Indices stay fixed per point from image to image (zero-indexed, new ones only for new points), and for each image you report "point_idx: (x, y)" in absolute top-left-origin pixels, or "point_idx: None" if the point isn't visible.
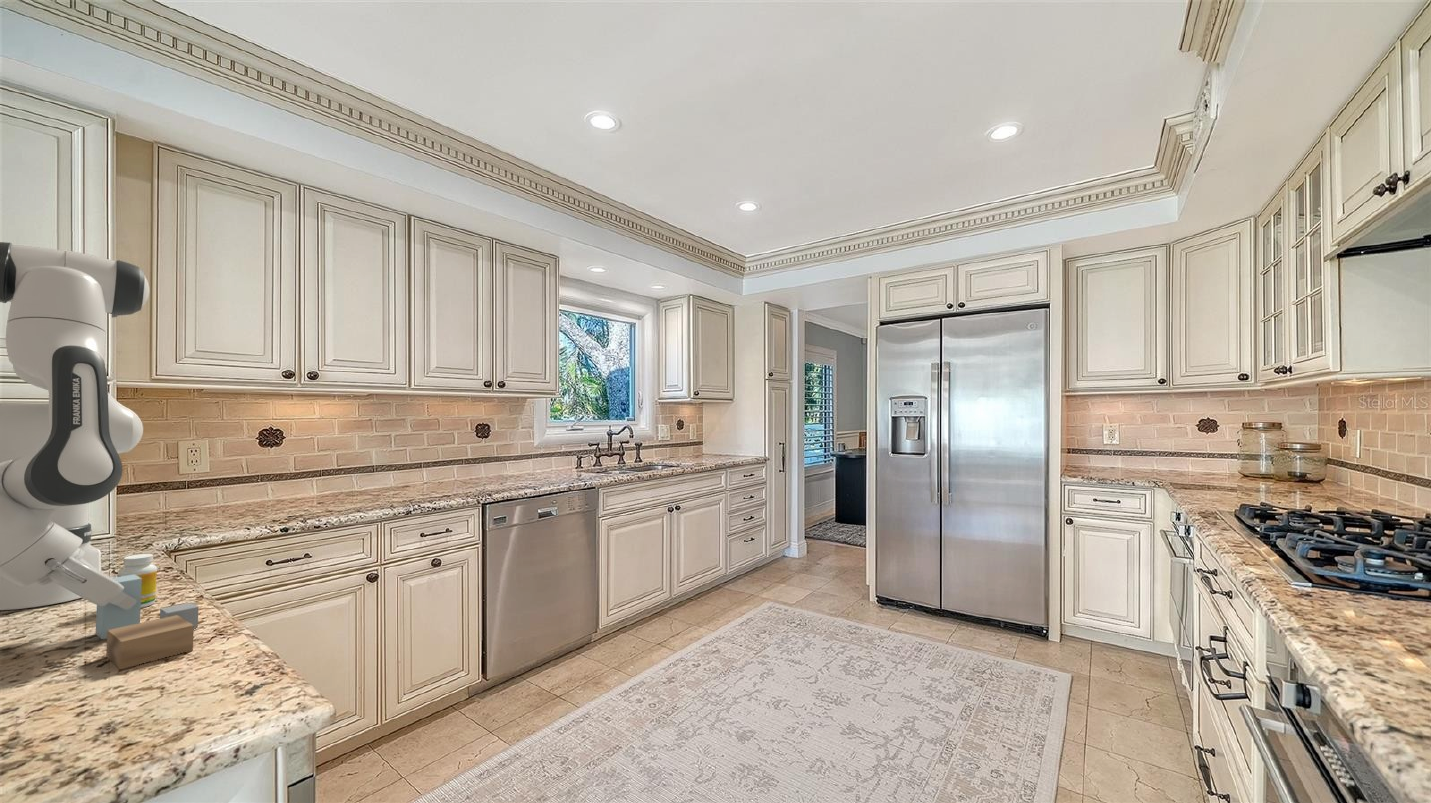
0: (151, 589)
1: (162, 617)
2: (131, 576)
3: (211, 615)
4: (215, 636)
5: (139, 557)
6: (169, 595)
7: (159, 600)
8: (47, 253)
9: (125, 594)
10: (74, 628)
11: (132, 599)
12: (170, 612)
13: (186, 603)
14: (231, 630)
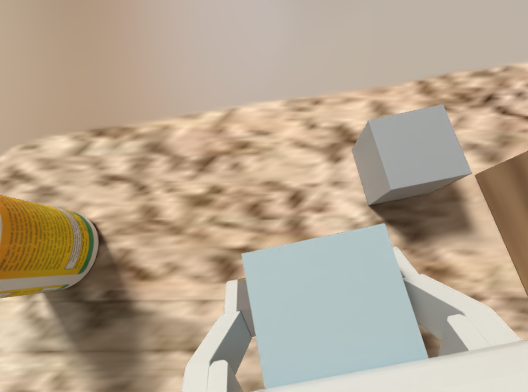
0: (55, 213)
1: (411, 189)
2: (289, 266)
3: (299, 113)
4: (500, 108)
5: None
6: (24, 185)
7: (56, 204)
8: None
9: (442, 284)
10: (182, 374)
11: (405, 258)
12: (467, 165)
13: (372, 130)
14: (469, 82)
